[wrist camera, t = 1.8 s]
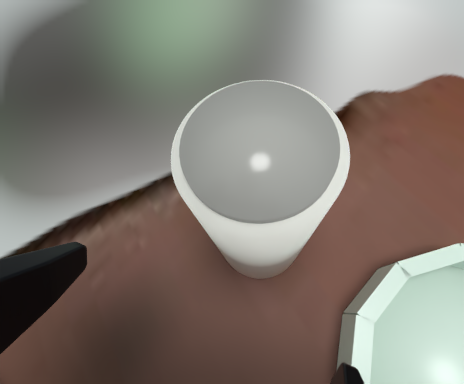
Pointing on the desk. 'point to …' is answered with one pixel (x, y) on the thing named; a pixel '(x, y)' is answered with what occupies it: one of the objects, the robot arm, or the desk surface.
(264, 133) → the white cylinder
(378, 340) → the bowl
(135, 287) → the desk surface
